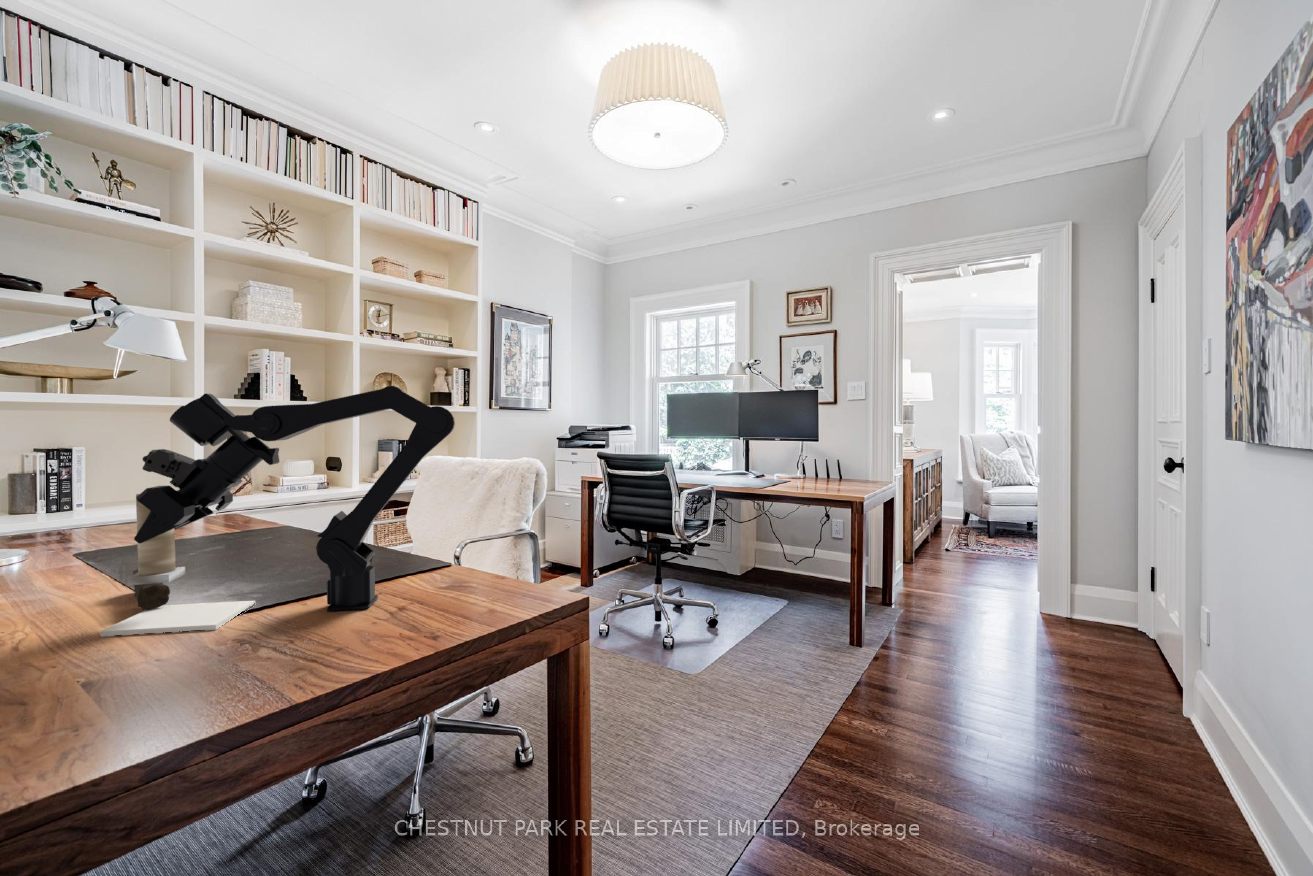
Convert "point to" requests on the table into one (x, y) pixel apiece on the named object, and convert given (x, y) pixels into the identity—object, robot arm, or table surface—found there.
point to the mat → (179, 618)
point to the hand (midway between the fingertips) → (145, 538)
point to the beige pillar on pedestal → (155, 555)
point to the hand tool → (151, 594)
